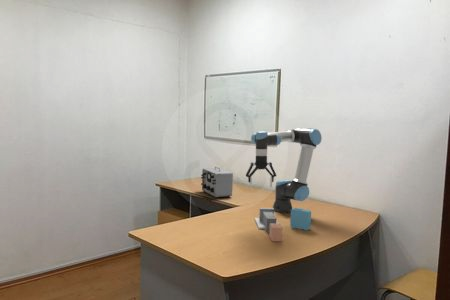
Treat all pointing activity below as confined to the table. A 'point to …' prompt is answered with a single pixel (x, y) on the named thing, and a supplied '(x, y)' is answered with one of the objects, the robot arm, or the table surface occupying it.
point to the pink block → (275, 232)
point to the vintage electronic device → (217, 182)
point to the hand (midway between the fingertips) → (260, 187)
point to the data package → (300, 219)
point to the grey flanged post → (265, 218)
